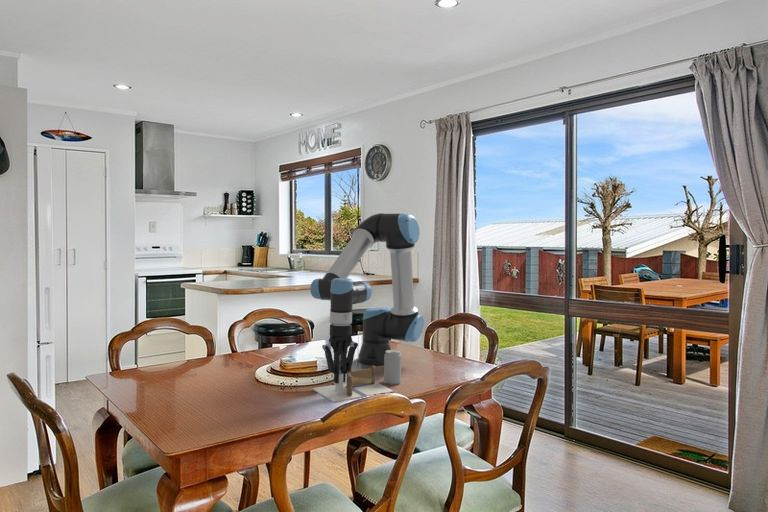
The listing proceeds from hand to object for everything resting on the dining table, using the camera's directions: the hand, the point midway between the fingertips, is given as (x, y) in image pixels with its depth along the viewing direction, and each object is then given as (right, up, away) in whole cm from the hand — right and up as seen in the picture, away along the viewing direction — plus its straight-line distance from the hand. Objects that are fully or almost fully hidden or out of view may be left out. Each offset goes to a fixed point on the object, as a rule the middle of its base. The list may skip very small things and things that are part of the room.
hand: (339, 391), depth 185 cm
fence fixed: (+7, -1, +12) cm, 14 cm away
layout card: (+4, -1, +6) cm, 8 cm away
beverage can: (+18, -1, +18) cm, 26 cm away
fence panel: (+3, -1, +3) cm, 4 cm away
